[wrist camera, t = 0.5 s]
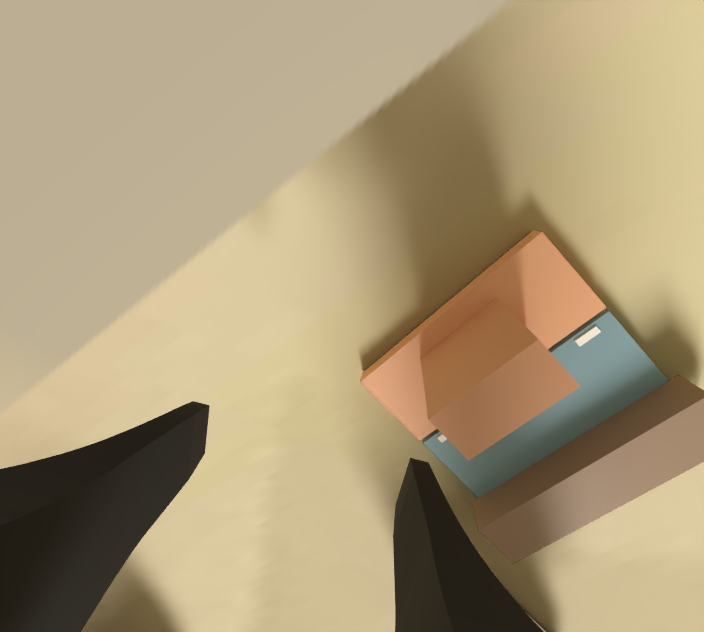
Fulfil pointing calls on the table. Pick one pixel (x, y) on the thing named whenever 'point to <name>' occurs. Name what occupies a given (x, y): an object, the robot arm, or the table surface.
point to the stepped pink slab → (488, 351)
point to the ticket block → (583, 444)
